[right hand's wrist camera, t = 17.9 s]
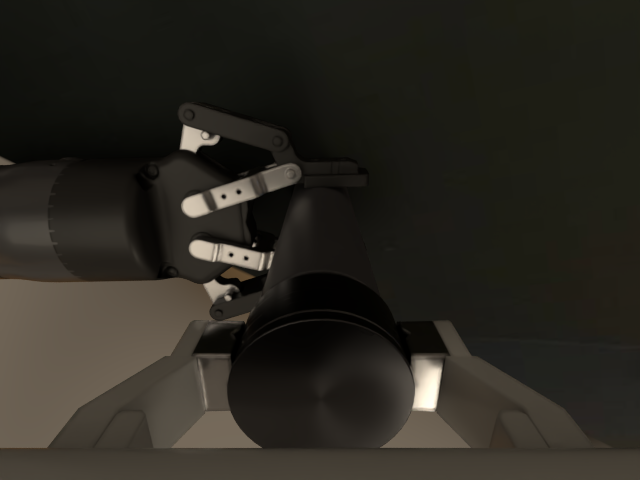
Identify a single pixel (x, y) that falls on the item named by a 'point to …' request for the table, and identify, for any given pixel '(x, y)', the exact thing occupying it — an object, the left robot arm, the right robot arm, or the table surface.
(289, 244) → the black cylinder tube
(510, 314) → the table surface
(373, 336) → the lid
